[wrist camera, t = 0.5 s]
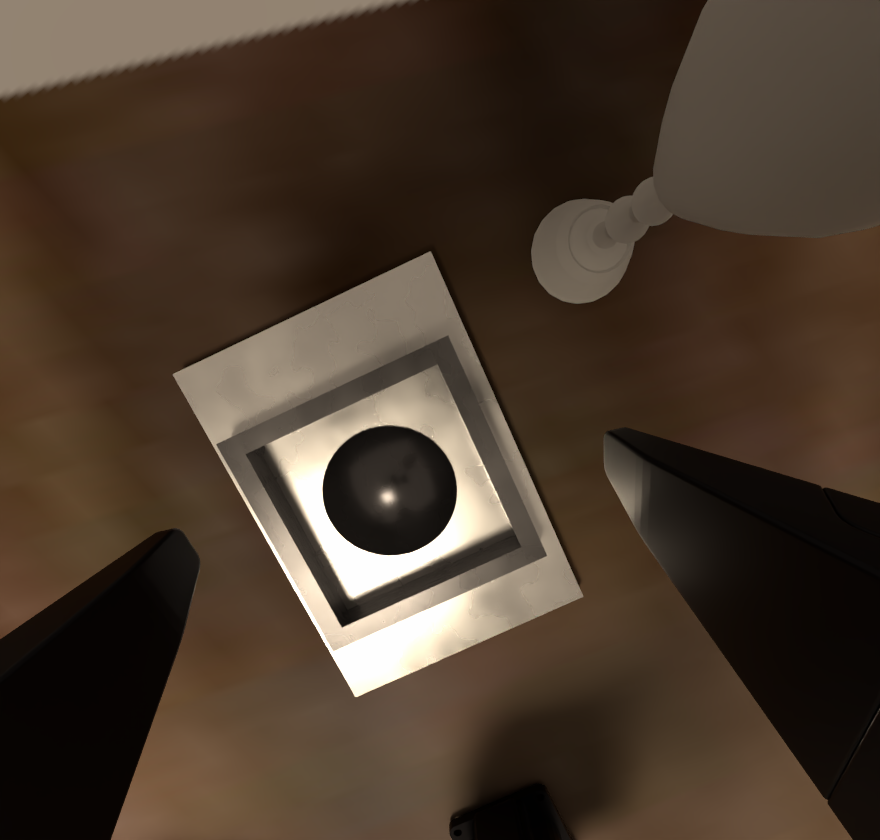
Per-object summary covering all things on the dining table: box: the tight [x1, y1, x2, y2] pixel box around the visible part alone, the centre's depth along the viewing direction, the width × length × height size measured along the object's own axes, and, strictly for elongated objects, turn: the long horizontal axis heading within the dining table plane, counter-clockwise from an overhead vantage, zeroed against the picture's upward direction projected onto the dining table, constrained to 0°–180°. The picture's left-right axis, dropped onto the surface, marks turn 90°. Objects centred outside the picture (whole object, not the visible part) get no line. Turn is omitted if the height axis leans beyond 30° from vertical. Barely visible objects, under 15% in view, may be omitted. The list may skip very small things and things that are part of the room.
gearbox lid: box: [173, 251, 583, 697], centre depth 21 cm, size 20×14×2 cm
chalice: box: [531, 0, 880, 304], centre depth 12 cm, size 7×7×18 cm
